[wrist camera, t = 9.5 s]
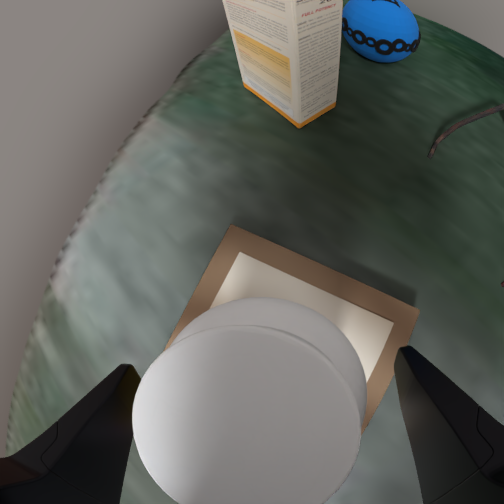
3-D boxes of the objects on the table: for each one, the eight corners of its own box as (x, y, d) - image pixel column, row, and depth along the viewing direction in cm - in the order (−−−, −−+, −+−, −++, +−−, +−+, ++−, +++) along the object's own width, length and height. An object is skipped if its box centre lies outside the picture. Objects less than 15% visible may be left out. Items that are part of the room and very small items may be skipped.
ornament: (337, 32, 27) (339, -35, 18) (404, 45, 25) (418, -19, 16) (337, 71, 25) (342, -12, 15) (417, 86, 23) (441, 12, 14)
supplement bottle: (215, 410, 17) (93, 504, 4) (229, 310, 18) (110, 255, 6) (322, 424, 16) (363, 559, 3) (337, 321, 17) (426, 285, 5)
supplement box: (338, 107, 23) (348, -22, 11) (298, 131, 23) (291, -10, 11) (279, 66, 26) (264, -44, 14) (241, 86, 26) (211, -29, 13)
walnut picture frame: (319, 486, 15) (321, 495, 14) (146, 398, 19) (138, 401, 17) (413, 311, 18) (420, 309, 17) (234, 230, 21) (230, 223, 20)
